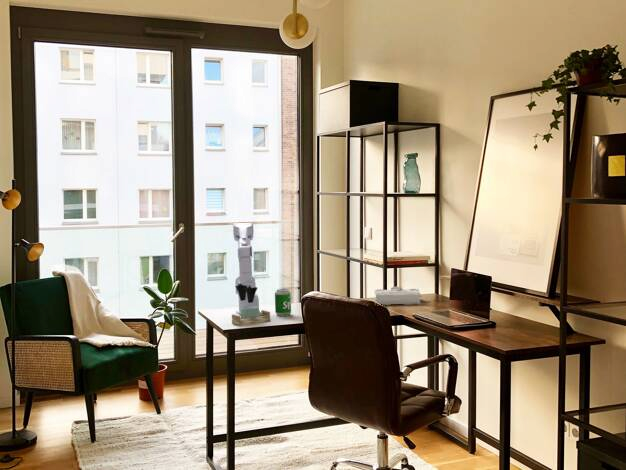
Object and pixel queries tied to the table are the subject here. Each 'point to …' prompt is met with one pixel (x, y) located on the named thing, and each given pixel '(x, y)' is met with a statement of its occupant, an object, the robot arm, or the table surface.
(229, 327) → the table surface
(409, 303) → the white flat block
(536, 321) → the table surface
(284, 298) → the soda can
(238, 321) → the track sill
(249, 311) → the door panel
